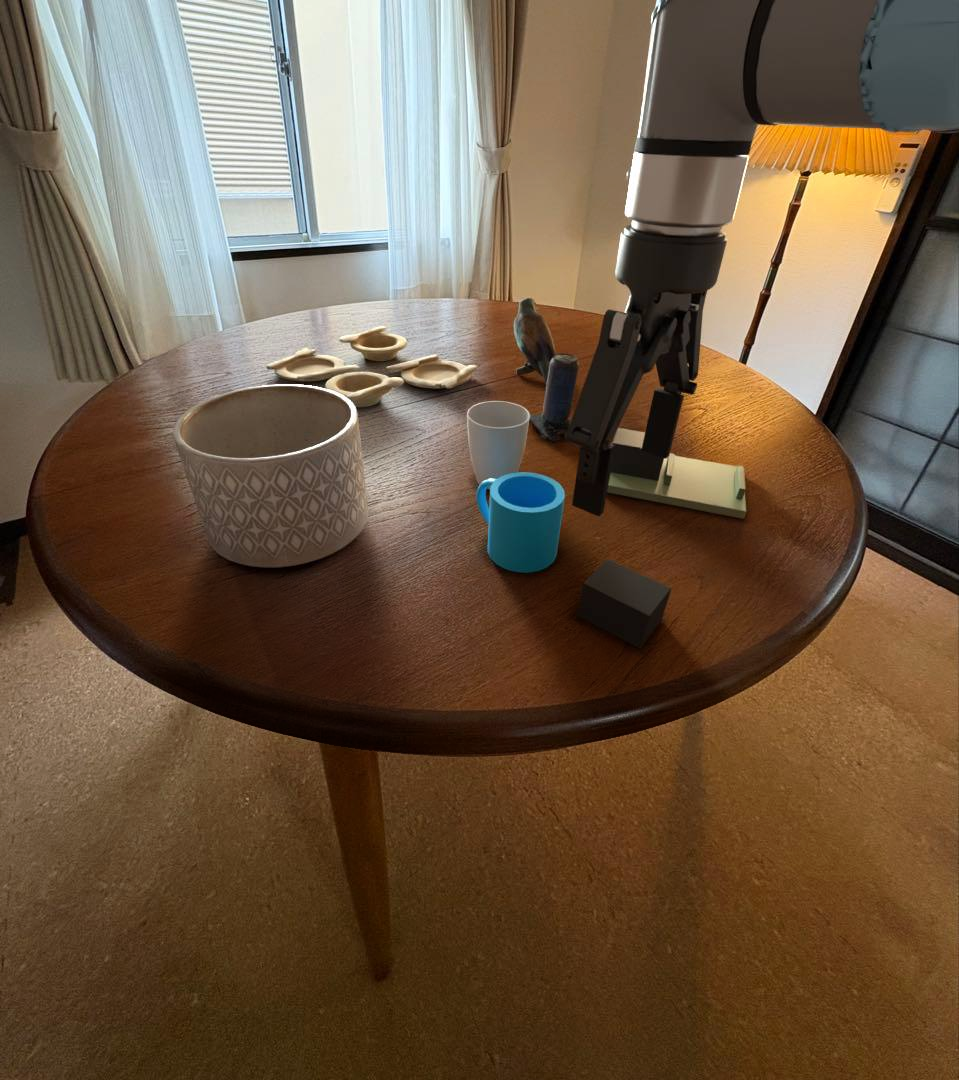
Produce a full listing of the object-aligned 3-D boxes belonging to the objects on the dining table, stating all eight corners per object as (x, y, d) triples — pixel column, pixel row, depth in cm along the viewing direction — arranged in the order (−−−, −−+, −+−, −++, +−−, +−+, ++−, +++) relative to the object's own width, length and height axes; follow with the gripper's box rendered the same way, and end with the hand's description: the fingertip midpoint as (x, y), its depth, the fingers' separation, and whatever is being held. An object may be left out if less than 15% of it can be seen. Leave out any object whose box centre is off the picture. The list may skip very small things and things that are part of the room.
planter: (400, 531, 68) (392, 422, 59) (254, 602, 58) (218, 483, 49) (319, 472, 79) (302, 372, 70) (184, 523, 68) (144, 413, 60)
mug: (571, 552, 66) (580, 494, 61) (521, 582, 61) (527, 522, 56) (501, 508, 73) (504, 452, 68) (452, 532, 68) (452, 474, 63)
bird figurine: (585, 392, 102) (576, 277, 99) (533, 396, 100) (522, 279, 97) (561, 402, 115) (552, 301, 112) (514, 406, 113) (504, 304, 111)
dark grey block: (661, 620, 57) (671, 588, 54) (639, 649, 54) (649, 616, 51) (600, 590, 61) (607, 558, 58) (577, 615, 57) (583, 583, 55)
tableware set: (491, 381, 107) (492, 360, 104) (368, 429, 89) (365, 405, 87) (376, 337, 125) (375, 318, 123) (256, 370, 108) (251, 348, 106)
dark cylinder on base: (587, 434, 90) (599, 360, 83) (549, 445, 87) (557, 369, 80) (552, 413, 96) (561, 342, 89) (516, 422, 93) (521, 350, 86)
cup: (535, 486, 77) (542, 419, 71) (484, 502, 74) (487, 433, 68) (504, 461, 83) (508, 396, 76) (455, 474, 79) (455, 408, 73)
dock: (740, 474, 81) (753, 439, 78) (743, 519, 72) (758, 481, 69) (609, 451, 86) (615, 416, 82) (596, 490, 77) (603, 453, 73)
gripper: (692, 206, 50) (645, 424, 63) (534, 240, 35) (514, 521, 47) (779, 215, 47) (711, 445, 59) (646, 257, 31) (592, 557, 44)
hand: (623, 479), depth 53 cm, fingers open, 13 cm apart
